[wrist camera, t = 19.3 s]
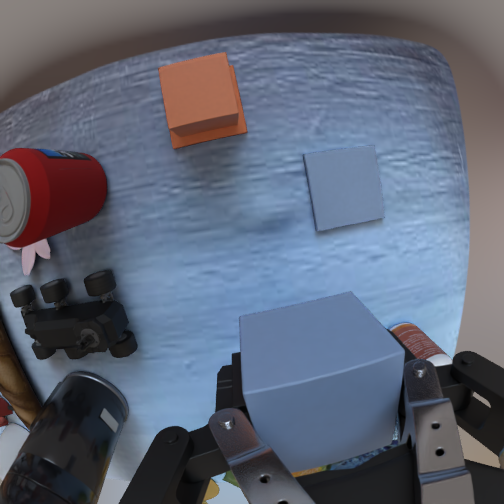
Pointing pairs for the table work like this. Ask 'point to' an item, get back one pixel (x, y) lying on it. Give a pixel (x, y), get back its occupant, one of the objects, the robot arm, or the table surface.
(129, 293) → the table surface
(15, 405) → the bread
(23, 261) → the flower
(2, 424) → the dentures model
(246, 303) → the table surface
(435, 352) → the pill bottle
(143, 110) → the table surface
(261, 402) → the slate-blue block
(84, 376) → the robot arm
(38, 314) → the toy vehicle
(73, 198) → the beverage can
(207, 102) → the terracotta block
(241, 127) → the terracotta mat
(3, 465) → the mug
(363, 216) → the slate-blue mat
